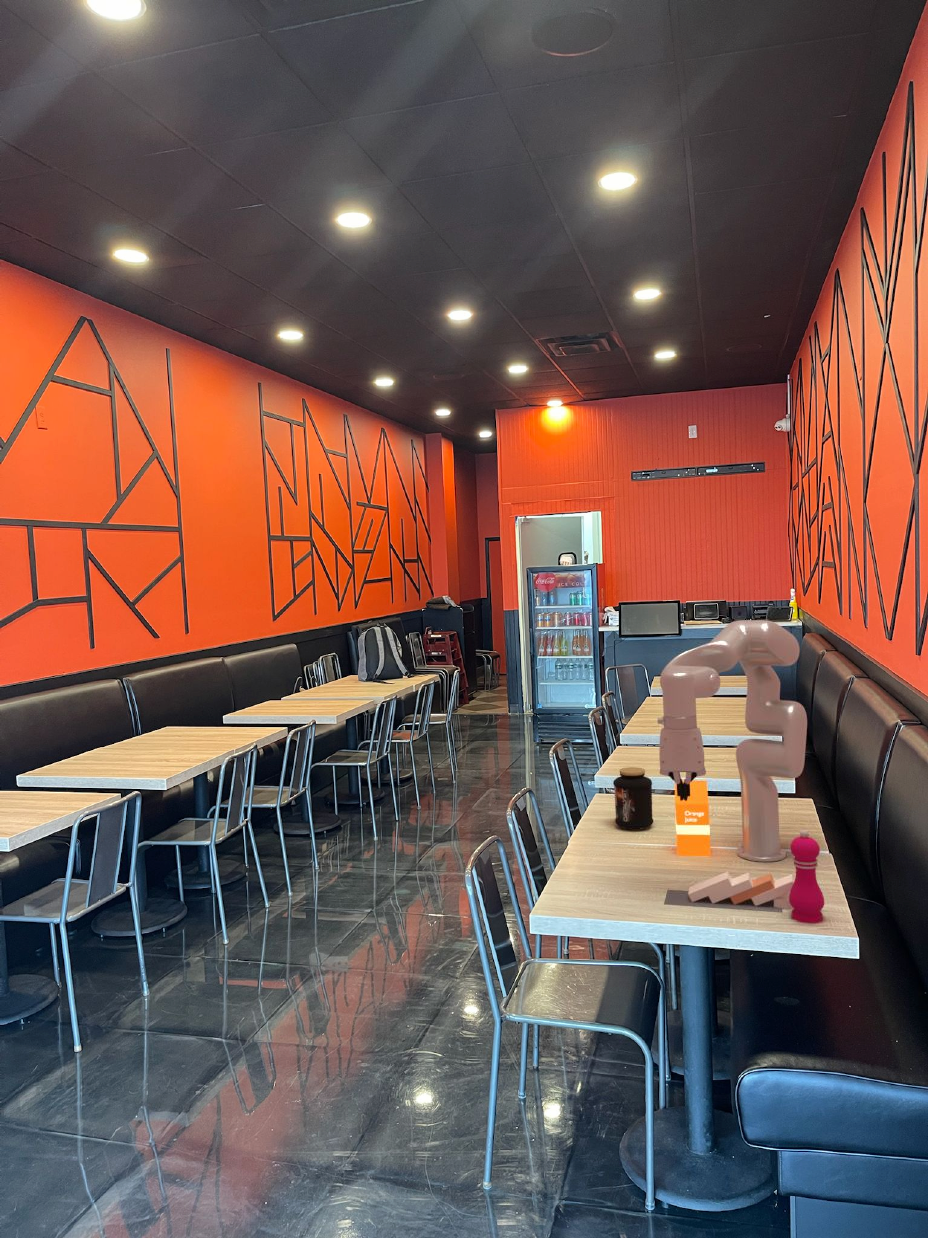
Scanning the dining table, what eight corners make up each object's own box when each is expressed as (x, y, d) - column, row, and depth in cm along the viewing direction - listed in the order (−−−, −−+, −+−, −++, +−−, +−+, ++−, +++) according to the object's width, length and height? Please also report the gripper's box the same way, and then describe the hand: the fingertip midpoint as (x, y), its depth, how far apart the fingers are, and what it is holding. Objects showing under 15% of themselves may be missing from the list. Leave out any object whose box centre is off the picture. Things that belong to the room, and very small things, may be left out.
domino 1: (688, 894, 203) (727, 878, 200) (689, 887, 208) (728, 871, 205) (692, 902, 203) (731, 886, 200) (693, 894, 208) (732, 879, 205)
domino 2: (708, 895, 202) (748, 879, 199) (709, 888, 207) (748, 872, 204) (712, 903, 202) (752, 887, 199) (713, 896, 206) (752, 880, 203)
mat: (667, 892, 212) (667, 889, 212) (781, 899, 204) (781, 896, 204) (663, 906, 203) (663, 904, 203) (782, 915, 194) (782, 912, 194)
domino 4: (751, 898, 199) (792, 881, 196) (751, 890, 204) (791, 874, 200) (755, 906, 199) (796, 889, 196) (755, 898, 203) (796, 882, 200)
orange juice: (710, 856, 237) (708, 783, 237) (677, 856, 239) (674, 783, 239) (708, 847, 245) (706, 777, 244) (676, 847, 247) (673, 777, 246)
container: (658, 831, 263) (654, 772, 262) (618, 833, 263) (614, 774, 263) (650, 821, 275) (647, 764, 275) (612, 823, 275) (609, 767, 275)
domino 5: (774, 898, 197) (821, 905, 194) (773, 891, 202) (820, 897, 199) (773, 907, 197) (821, 913, 194) (773, 899, 202) (819, 905, 199)
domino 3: (729, 897, 200) (770, 880, 197) (730, 889, 205) (770, 873, 202) (734, 905, 200) (774, 888, 197) (734, 897, 205) (774, 881, 202)
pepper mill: (816, 913, 195) (813, 824, 194) (830, 925, 188) (828, 833, 187) (784, 915, 195) (781, 826, 194) (797, 927, 187) (794, 835, 187)
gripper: (646, 725, 205) (650, 802, 206) (712, 725, 200) (716, 804, 201) (649, 720, 212) (653, 794, 213) (713, 719, 207) (717, 796, 208)
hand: (683, 799), depth 207 cm, fingers closed
